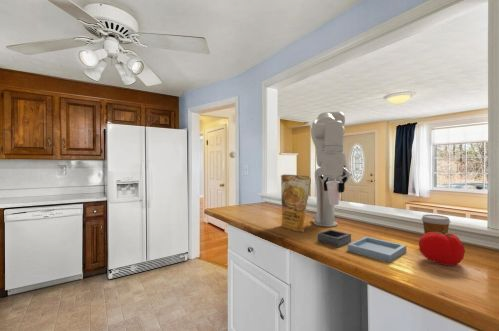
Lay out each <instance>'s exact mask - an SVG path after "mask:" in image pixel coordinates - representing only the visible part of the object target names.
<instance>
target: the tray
mask: <svg viewBox="0 0 499 331" xmlns="http://www.w3.org/2000/svg"><path fill="white" fill-rule="evenodd" d="M347 252H352V253H354V254H359V255H362V256H365V257H369V258H371V259H377V260H379V261H382V262H386V263H391V262H393V261H395V260H396V259H398V258H400V257H401V256H402V255H404V254H406V253H407V245H405V244H401V243H396V242H392V241H388V240H383V239H380V238H379V239H378V238H376V237H370V236H364V237H362V238H359V239H357V240H355V241H351V242H350V243H348V244H347Z"/></svg>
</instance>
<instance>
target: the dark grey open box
mask: <svg viewBox="0 0 499 331" xmlns="http://www.w3.org/2000/svg"><path fill="white" fill-rule="evenodd" d="M316 239H317V242H318V243H322V244H325V245H329V246H332V247H335V248H340V247H343V246H345V245H348V244H349V243H352V233H347V232H344V231H339V230H335V229H331V228H330V229H327V230H324V231H322V232H319V233H317V238H316Z"/></svg>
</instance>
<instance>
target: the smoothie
mask: <svg viewBox="0 0 499 331" xmlns="http://www.w3.org/2000/svg"><path fill="white" fill-rule="evenodd" d="M339 183H340V182H338V181H336V177H335V176H334V181H328V182H326V184H327V189H328V197H329V204H330V205H334V206H337V205H339V203H340V195H341V193H339Z"/></svg>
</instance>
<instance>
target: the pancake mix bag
mask: <svg viewBox="0 0 499 331" xmlns="http://www.w3.org/2000/svg"><path fill="white" fill-rule="evenodd" d="M280 179H281V180H280V181H281V184H280V185H281V198H280V200H281V226H282V228H284V229H287V230H291V231H293V232H297V233H299V232H302V233H305V230H304V224H305V223H304V222H305V220H306V219H305V218H306V210H307V206H308V205H307V204H308V199H309V194H310V188H311V187H310V186H311V182H312V181H311V177H310V176H308V175H297V174H281V175H280Z"/></svg>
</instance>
